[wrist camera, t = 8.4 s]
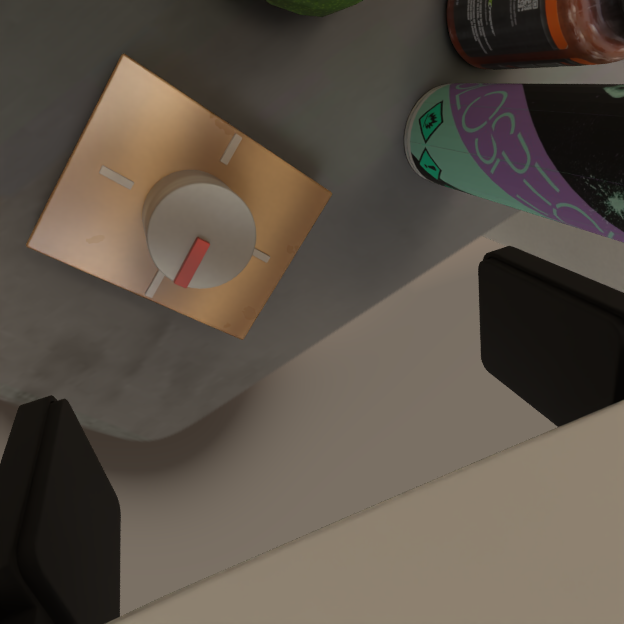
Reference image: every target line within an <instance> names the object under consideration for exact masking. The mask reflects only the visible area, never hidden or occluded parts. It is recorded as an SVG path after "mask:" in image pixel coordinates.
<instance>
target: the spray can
mask: <svg viewBox="0 0 624 624" xmlns="http://www.w3.org/2000/svg"><path fill="white" fill-rule="evenodd" d="M404 145H405V152H406V156H407V159H408V161H409V163H410V165H411V167H412V168H413V170H414V171H415V172H416V173H417V174H418V175H420V176H421V177H422V178H424V179H427V180H429V181H431V182H433V183H437V184H440V185H443V186H446V187H449V188H453V189H456V190H459V191H462V192H465V193H468V194H472V195H475V196H478V197H481V198H484V199H487V200H491V201H494V202H497V203H500V204H503V205H507V206H510V207H513V208H516V209H519V210H522V211H526V212H529V213H532V214H535V215H538V216H541V217H545V218H548V219H551V220H554V221H557V222H560V223H564V224H567V225H570V226H573V227H576V228H580V229H583V230H586V231H589V232H592V233H595V234H599V235H602V236H605V237H608V238H611V239H614V240H618V241H621V242H624V84H477V83H451V84H444V85H440V86H437V87H435V88H433V89H431V90H430V91H429V92H427V93H426V94H425V95H423V96H422V98H421V99H420V100H419V101H418V102H417V103H416V105H415V106H414V108H413V109H412V111H411V113H410V116H409V118H408V120H407V124H406V128H405V136H404Z"/></svg>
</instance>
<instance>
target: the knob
mask: <svg viewBox="0 0 624 624" xmlns="http://www.w3.org/2000/svg"><path fill="white" fill-rule="evenodd" d="M142 222H143V228H144V233H145V237H146V242H147V247H148V250H149V253H150V256H151V258H152V260H153V262H154V263H155V265H156V267H157V268H158V269H159V270H160V271H161V272H162V273H163V274H164V275H165V276H166V277H167V278H169V279H170V280H172V281H174V284H176V285H179V286H181V287H183V288H187V287H190V288H198V289H204V288H212V287H216V286H220V285H222V284H225V283H227V282H228V281H230V280H232V279H233V278H235V277H236V276H237V275H238V274H239V273H241V272H242V270H243V269H244V268H245V267H246V266H247V264H248V262H249V261H250V259H251V257H252V255H253V252H254V249H255V244H256V226H255V221H254V218H253V215H252V213H251V211H250V209H249V208H248V206H247V205H246V203H245V202H244V201H243V200H242V199H241V198H240V197H239V196H238V195H237V194H236V193H235V192H233V191H232V190H231V189H230V188H229V187H228V186H227V185H226V184H225V183H223V182H222V181H221V180H220V179H218V178H217V177H215V176H213V175H211V174H209V173H206V172H203V171H198V170H181V171H177V172H174V173H171V174H169V175H167V176H165V177H163V178H162V179H161V180H159V181H158V182H157V183H156V184H155V185H154V186H153V187H152V189H151V190H150V191H149V193H148V195H147V197H146V199H145V202H144V205H143V211H142Z"/></svg>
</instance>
